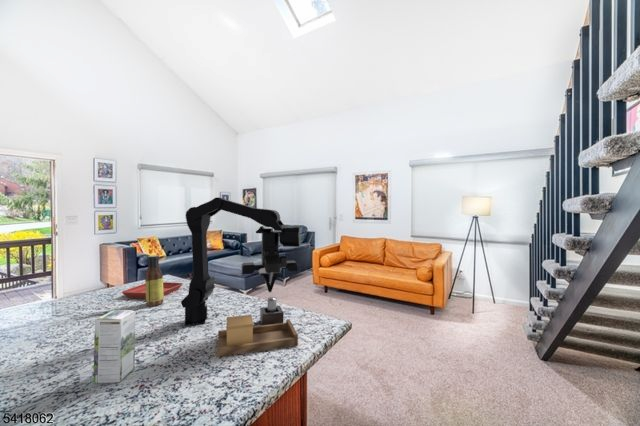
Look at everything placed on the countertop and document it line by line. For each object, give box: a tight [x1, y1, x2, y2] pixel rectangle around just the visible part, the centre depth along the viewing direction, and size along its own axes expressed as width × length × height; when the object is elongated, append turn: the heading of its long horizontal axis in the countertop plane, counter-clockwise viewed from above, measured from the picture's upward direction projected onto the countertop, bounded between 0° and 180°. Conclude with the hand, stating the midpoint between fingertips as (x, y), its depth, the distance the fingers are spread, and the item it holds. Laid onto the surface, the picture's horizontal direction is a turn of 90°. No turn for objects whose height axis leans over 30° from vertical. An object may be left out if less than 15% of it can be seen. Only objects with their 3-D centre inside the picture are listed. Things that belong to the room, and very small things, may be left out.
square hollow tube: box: [259, 305, 284, 326], centre depth 96 cm, size 7×7×4 cm
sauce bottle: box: [144, 254, 165, 307], centre depth 114 cm, size 7×6×20 cm
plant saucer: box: [121, 281, 184, 299], centre depth 129 cm, size 18×18×3 cm
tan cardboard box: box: [225, 314, 254, 346], centre depth 81 cm, size 7×7×6 cm
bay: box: [216, 318, 299, 358], centre depth 82 cm, size 22×12×3 cm, turn 108°
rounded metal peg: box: [266, 296, 277, 313], centre depth 96 cm, size 3×3×7 cm
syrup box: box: [92, 309, 137, 384], centre depth 65 cm, size 6×6×14 cm
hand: (269, 292), depth 95 cm, fingers closed
